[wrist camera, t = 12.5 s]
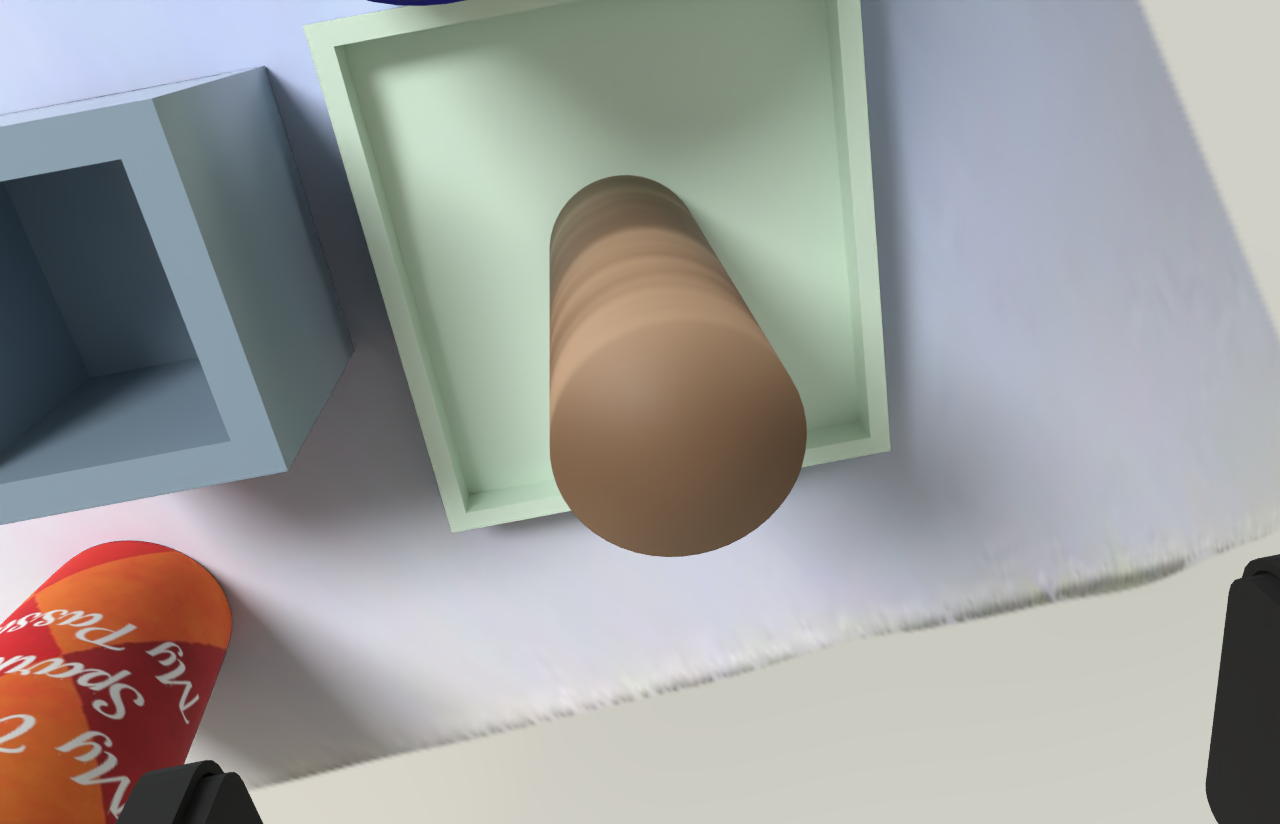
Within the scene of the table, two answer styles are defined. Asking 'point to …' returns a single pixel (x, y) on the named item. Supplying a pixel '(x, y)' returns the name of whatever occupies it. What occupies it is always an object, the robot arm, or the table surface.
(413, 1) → the teacup with lid
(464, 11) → the tray
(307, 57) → the table surface
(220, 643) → the coffee cup
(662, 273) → the peg
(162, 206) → the deep square box
